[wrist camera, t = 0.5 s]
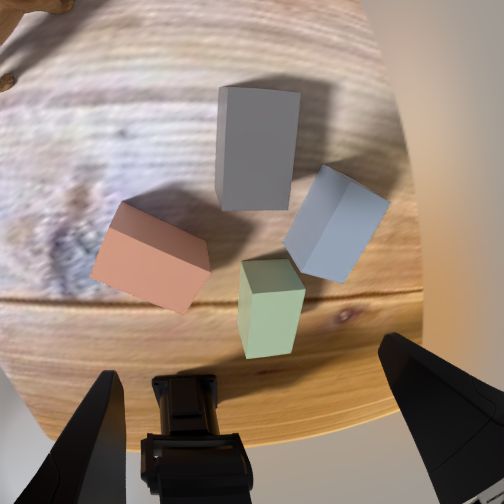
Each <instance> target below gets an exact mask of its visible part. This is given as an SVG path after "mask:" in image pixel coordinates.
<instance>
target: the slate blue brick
mask: <svg viewBox="0 0 504 504" xmlns="http://www.w3.org/2000/svg"><path fill="white" fill-rule="evenodd" d="M389 205H390V202H389V201H387V200H386V199H384V198H383V197H381V196H380V195H378V194H377V193H375V192H374V191H372V190H371V189H369V188H367V187H366V186H364V185H363V184H361V183H359V182H358V181H356V180H354V179H352V178H350V177H348V176H346V175H344V174H342V173H340V172H338V171H336V170H334V169H332V168H330V167H328V166H326V165H324V164H322V166H321V168H320V170H319V172H318V174H317V176H316V178H315V180H314V182H313V184H312V186H311V188H310V190H309V192H308V194H307V196H306V198H305V200H304V202H303V204H302V206H301V208H300V210H299V212H298V214H297V216H296V218H295V220H294V222H293V224H292V225H291V227H290V229H289V231H288V233H287V235H286V237H285V239H284V241H283V244H284V246H285V247H286V249H287V251H288V252H289V254H290V255H291V257H292V259H293V260H294V262H295V264H296V265H297V267H298V268H299V270H300V272H301V273H305V274H309V275H313V276H316V277H320V278H324V279H328V280H331V281H335V282H339V283H344V281H345V280H346V278H347V277H348V275H349V273H350V272H351V270H352V269H353V267H354V265H355V264H356V262H357V260H358V259H359V257H360V255H361V254H362V252H363V250H364V249H365V247H366V245H367V244H368V242H369V240H370V239H371V237H372V235H373V233H374V232H375V230H376V228H377V227H378V225H379V223H380V221H381V219H382V218H383V216H384V214H385V212H386V210H387V209H388V207H389Z"/></svg>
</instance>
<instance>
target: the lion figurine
mask: <svg viewBox="0 0 504 504" xmlns="http://www.w3.org/2000/svg"><path fill="white" fill-rule="evenodd" d="M73 5H74V0H0V46H1V45H2V44H3V43H4V42H5V41H6V40H7V38H8V37H9V36H10V35H11V33H12V32H13V31H14V29H15V28H16V26H17V25H18V23H19V22H20V20H21V19H22V17H23V15H24V14H25V13H30V12H34V11H44V12H49V13H53V14H61V13H65V12H68V11H69V10H71V9H72V7H73ZM13 81H14V78H13V76H12V75H11V74H9V73H6V74H4V75H3V76H2V77H1V78H0V92H4V91H6V90H8V89H9V88H11V86H12V85H13Z"/></svg>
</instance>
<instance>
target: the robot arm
mask: <svg viewBox="0 0 504 504" xmlns="http://www.w3.org/2000/svg"><path fill="white" fill-rule="evenodd" d="M378 356H379V359H380V362H381V364H382V367H383V370H384V372H385V375H386V378H387V381H388V384H389V386H390V389H391V391H392V393H393V395H394V398H395V400H396V402H397V404H398V406H399V408H400V410H401V412H402V415H403V417H404V419H405V421H406V423H407V425H408V427H409V430H410V432H411V434H412V437H413V439H414V441H415V444H416V446H417V448H418V450H419V453H420V455H421V457H422V460H423V462H424V464H425V467H426V469H427V472H428V473H429V474H428V475H429V477H430V480H431V482H432V484H433V487H434V489H435V492H436V495H437V497H438V500H439V503H440V504H463V503H464V502H466V501H468V500H470V499H472V498H473V497H475V496H477V498H476V499H475V500H474V501H473V502H471V503H470V504H504V392H503V391H501V390H498V389H496V388H494V387H492V386H490V385H488V384H486V383H484V382H482V381H481V380H479V379H477V378H475V377H473V376H472V375H469V374H468V373H466V372H465V371H463V370H461V369H459V368H458V367H456V366H454V365H452V364H451V363H449V362H447V361H445V360H444V359H442V358H440V357H438V356H437V355H435V354H433V353H431V352H430V351H428V350H426V349H424V348H423V347H421V346H419V345H417V344H416V343H414V342H412V341H410V340H409V339H407V338H405V337H403V336H402V335H400V334H398V333H396V332H392V333H388V334H386V335H385V336H384V337H383V340H382V342H381V344H380V347H379V349H378ZM152 387H153V390H154V393H155V396H156V399H157V402H158V405H159V408H160V422H161V435H157V434H153V433H147V438H146V439H143V440H141V479H142V480H143V481H144V482H146V484H147V486H148V488H150V493H151V495H159V497H160V504H252V502H251V497H250V492H249V491H251V490H252V488H253V472H252V467H251V464H250V461H249V459H248V456H247V454H246V451H245V449H244V446H243V444H242V441H241V439H240V436H239V433H232V434H225V435H220V432H219V426H218V421H217V415H216V408H217V384H216V376H214V375H204V376H189V377H171V378H154V379H152ZM155 456H158V457H157V458H155ZM14 504H126V423H125V407H124V390H123V386H122V383H121V381H120V379H119V376H118V374H117V372H116V371H115V370H104V371H102V372H101V374H100V375H99V377H98V378H97V380H96V381H95V382H94V384H93V385H92V387H91V388H90V390H89V391H88V393H87V394H86V396H85V397H84V399H83V400H82V402H81V403H80V405H79V406H78V408H77V409H76V411H75V413H74V414H73V416H72V417H71V419H70V420H69V422H68V423H67V425H66V426H65V428H64V430H63V431H62V433H61V434H60V436H59V438H58V439H57V441H56V442H55V444H54V446H53V447H52V449H51V451H50V453H49V454H48V455H47V457H46V459H45V460H44V462H43V463H42V465H41V467H40V468H39V470H38V471H37V473H36V474H35V476H34V477H33V478H32V480H31V481H30V483H29V484H28V485H27V487H26V488H25V489H24V490H23V492H22V493H21V494H20V496H19V497H18V498H17V500H16V501H15V502H14Z"/></svg>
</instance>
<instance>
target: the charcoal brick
mask: <svg viewBox="0 0 504 504" xmlns="http://www.w3.org/2000/svg"><path fill="white" fill-rule="evenodd" d="M300 98H301V93H298V92H290V91H281V90H271V89H259V88H244V87H220V88H219V97H218V116H217V138H216V165H215V190H216V193H217V196H218V200H219V203H220V206H221V209H222V211H256V210H288V206H289V198H290V190H291V182H292V173H293V165H294V156H295V147H296V138H297V128H298V119H299V109H300Z"/></svg>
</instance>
